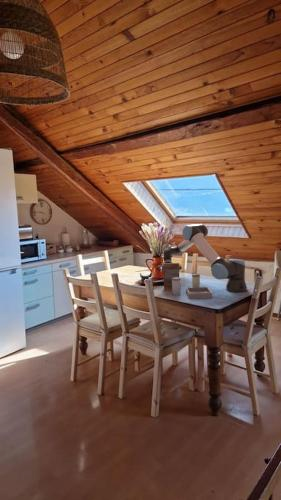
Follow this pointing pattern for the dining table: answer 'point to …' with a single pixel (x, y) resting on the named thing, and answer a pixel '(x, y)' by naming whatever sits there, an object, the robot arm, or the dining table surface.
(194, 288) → the tray
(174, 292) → the gray canister
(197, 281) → the sage canister
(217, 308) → the dining table surface
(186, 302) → the dining table surface
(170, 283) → the panel
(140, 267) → the dining table surface
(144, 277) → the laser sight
